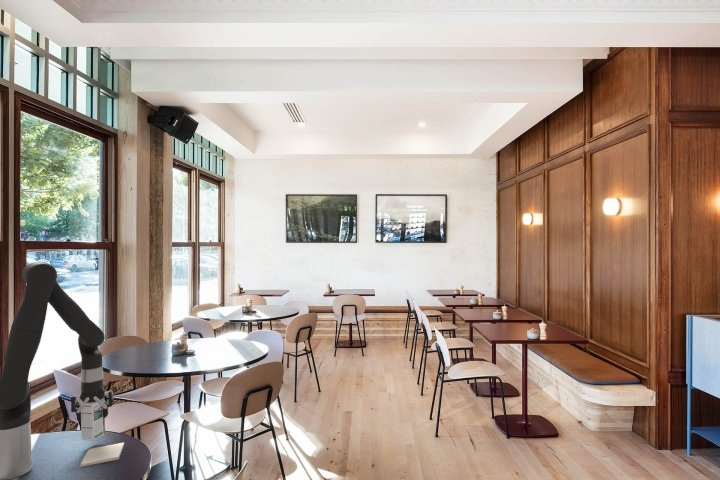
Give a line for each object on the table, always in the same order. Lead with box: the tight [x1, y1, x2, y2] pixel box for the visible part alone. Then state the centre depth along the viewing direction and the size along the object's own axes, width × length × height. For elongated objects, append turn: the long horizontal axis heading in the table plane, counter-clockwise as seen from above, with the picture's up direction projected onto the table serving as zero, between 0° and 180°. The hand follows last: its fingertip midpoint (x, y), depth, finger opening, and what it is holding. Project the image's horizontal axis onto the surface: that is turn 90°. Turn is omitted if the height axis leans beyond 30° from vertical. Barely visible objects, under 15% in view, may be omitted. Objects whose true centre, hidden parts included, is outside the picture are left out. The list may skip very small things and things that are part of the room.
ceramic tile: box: [80, 442, 125, 468], centre depth 155 cm, size 12×12×1 cm
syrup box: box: [80, 398, 106, 442], centre depth 164 cm, size 6×6×14 cm
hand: (93, 419), depth 164 cm, fingers closed on syrup box, 8 cm apart
